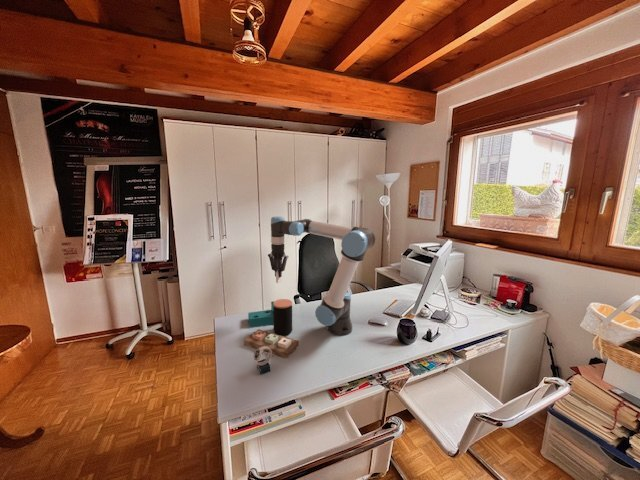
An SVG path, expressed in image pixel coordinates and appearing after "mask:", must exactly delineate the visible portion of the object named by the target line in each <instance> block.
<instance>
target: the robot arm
mask: <svg viewBox="0 0 640 480" xmlns="http://www.w3.org/2000/svg"><path fill="white" fill-rule="evenodd" d="M303 233H306V234H311V235H317V236H319V237H320V236H322V237H325V238H330V239H336V240H340V241H341V245H340V246H341V250H340V254H341V259H340V262H339V264H338V265H337V266H338V267H337V269H336V272H335V275H334V277H333V279H332V283H331V284H330V288H329V290H328V293H326V294H325V295H323V297H322V299H321V302H320V305H318V306H317V307H316V308H315V310H314V311H315V312H314V313H315V318H316V319H317V321H318V322H319V324H321V325H322V326H325V327H326V330H327V331H328V333H330V334H332V335H336V336H346V335H349V334H350V333H352V331H353V323H352V320H351V317H350V316H351V301H352V299H351V297H352V296H351V293H350V292H348V290H349V287H350V285H351V282H352V279H353V277H354V275H355V272H356V270H357V268H358V266H359V263H362V262H363V261H364V259H365V257H366V254H367V252H368V251H369V250H370V249H372V248H373V247H374V245H375V244H376V235H375V233H374V231H372V230H371V229H369V228H368V227H361V226H353V227H349V226H343V225H336V224H332V223H327V222H321V221H316V220H312V219H310V218H304V219H300V220H293V221H292V220H291V221H290V220H285V217H284V216H280V215H279V216H272V217H270V235H271V236H270V239H271V240H270V243H271V252H270V253H268V254H267V256H268V259H269V263H270V268H271V270H272V271H273V272H274V277H275V283H276V284H279V283H280V282H282V281H281V280H282V278H281V277H282V276H283V275H282V273H283V272H284V271H285V270H286V265H287V261H288V259H289V255H286V253H285V235H288V236H293V237H294V236H298V237H299V236H301V235H303Z"/></svg>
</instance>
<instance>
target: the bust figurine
mask: <svg viewBox="0 0 640 480" xmlns="http://www.w3.org/2000/svg"><path fill="white" fill-rule="evenodd" d="M265 349H269V350H270V351H269V353H268V354H267V357H266V358H263V359H262V357H263V352H264V351H263V350H265ZM272 357H273V354H272V351H271V349H270V348H269V347H268V346H263V347H260V348H258V349H255V351H254V353H253V360H254V361H255V363H256V368H257V371H258V372H259V374H260V375H265V374H267V373H270V372H271V364H270V360H271V359H272Z"/></svg>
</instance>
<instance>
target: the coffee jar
mask: <svg viewBox="0 0 640 480" xmlns="http://www.w3.org/2000/svg"><path fill="white" fill-rule="evenodd" d="M273 305H274V307H273V324H272V325H273V333H274V334H277V335H281V336H284V337H287V336H290V334H292V332H293V302H292V300H290V299H287V298H280V299H279V298H278V299H277V300H275V301H274V303H273Z"/></svg>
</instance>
